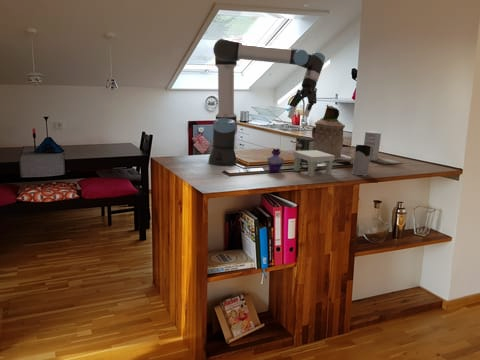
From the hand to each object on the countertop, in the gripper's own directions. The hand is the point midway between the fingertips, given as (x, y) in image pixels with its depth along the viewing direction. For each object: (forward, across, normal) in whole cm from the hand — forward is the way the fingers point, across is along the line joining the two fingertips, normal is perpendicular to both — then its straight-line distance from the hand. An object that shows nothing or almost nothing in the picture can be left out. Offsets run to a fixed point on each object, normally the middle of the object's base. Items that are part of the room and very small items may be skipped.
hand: (297, 117), depth 240 cm
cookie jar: (+3, +26, -46) cm, 53 cm away
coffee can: (+16, +15, -24) cm, 32 cm away
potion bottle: (+32, 0, +2) cm, 32 cm away
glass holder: (+16, -16, -40) cm, 46 cm away
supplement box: (-6, +13, -70) cm, 71 cm away
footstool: (+25, -7, -16) cm, 30 cm away
